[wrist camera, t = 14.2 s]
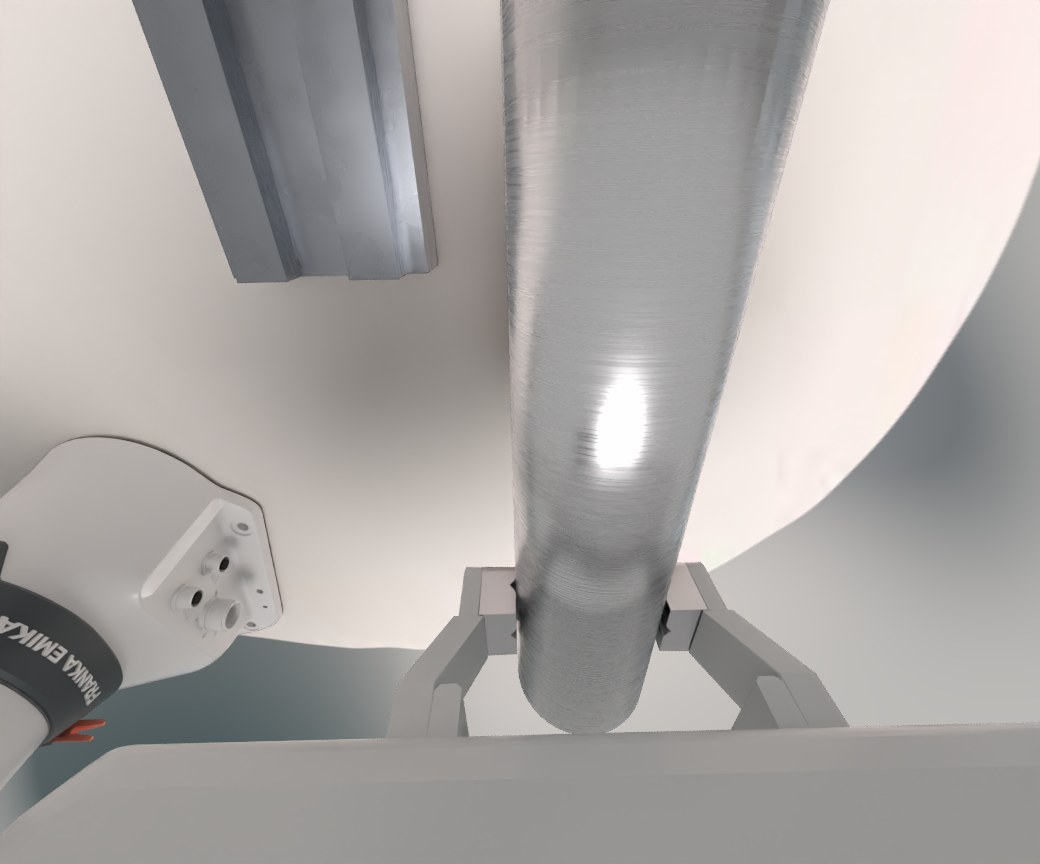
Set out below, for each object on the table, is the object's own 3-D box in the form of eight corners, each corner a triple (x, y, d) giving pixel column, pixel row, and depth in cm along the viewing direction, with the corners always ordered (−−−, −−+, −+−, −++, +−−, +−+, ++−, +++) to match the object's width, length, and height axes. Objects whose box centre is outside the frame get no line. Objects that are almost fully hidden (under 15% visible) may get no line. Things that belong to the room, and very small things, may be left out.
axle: (622, 606, 15) (660, 730, 11) (515, 612, 15) (521, 740, 11) (737, 0, 7) (992, -202, 3) (497, -1, 7) (500, -215, 3)
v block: (438, 264, 23) (422, 278, 19) (265, 268, 23) (215, 283, 19) (393, -114, 16) (353, -213, 12) (143, -106, 16) (24, -202, 12)
